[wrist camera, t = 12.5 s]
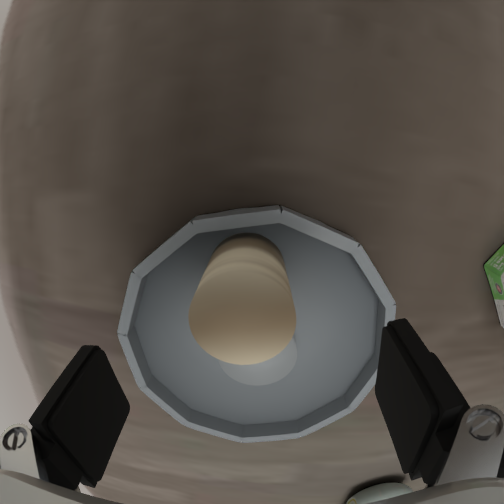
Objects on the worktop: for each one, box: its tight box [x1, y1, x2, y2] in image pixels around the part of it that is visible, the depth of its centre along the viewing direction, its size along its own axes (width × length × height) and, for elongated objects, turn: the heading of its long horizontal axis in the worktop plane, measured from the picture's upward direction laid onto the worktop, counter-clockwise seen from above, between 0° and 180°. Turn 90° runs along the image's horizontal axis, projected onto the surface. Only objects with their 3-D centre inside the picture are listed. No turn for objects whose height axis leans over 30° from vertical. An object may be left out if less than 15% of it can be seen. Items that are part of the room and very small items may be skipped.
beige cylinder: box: [188, 233, 296, 365], centre depth 18 cm, size 5×5×7 cm
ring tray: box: [117, 205, 396, 443], centre depth 22 cm, size 20×20×2 cm
